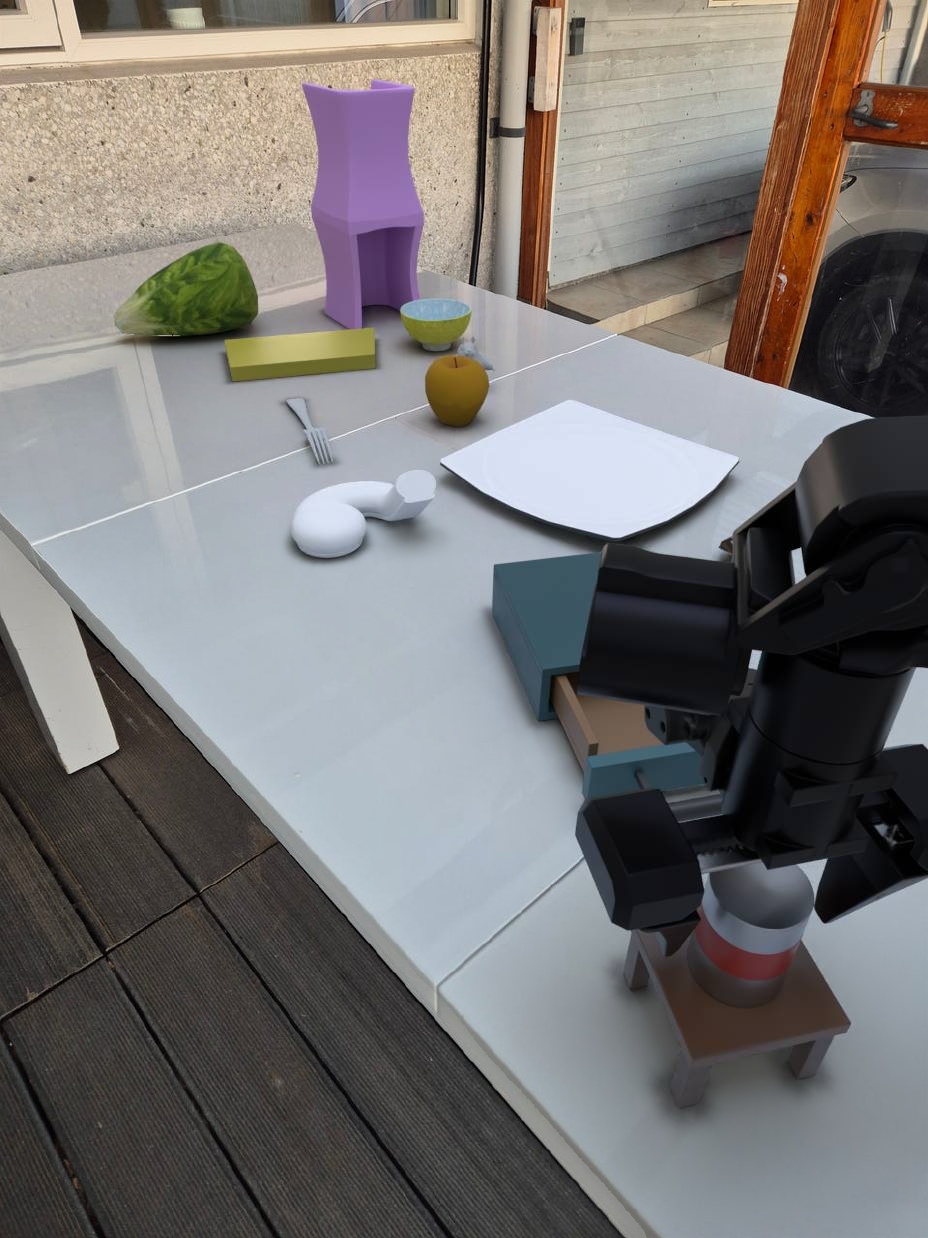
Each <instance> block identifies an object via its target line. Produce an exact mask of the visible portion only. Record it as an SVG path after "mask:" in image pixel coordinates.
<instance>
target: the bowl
mask: <svg viewBox="0 0 928 1238" xmlns="http://www.w3.org/2000/svg"><path fill="white" fill-rule="evenodd" d="M399 312H400V318H401V321H402V324H403V327H404V329H405V330H406V332H407V334H409V336H411V337H412V338H413V339H414V340H415V341H417V342H419V343H421V344H422V348H423V349H424V350H425V351H430V352H443V351H447V350H449V349H450V348H451V347H452V346H451V344H452V343H453V342H456V341H457V340H459V339H460V338H461V337H462V336H463V335H464V333H465V332H466V330H467V329H468V327H469V326H470V325H469V324H470V322H471V319H472V312H473V309H472V306H471V305H470V304H468V303H466V302H464V301H462V300H457V299H451V298H441V297H440V298H437V297H436V298H433V297H432V298H420V300H415V301H412V302H409V303H406V304H405V305H403V306H402V307H401V309H400V311H399Z"/></svg>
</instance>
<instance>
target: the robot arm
mask: <svg viewBox="0 0 928 1238" xmlns="http://www.w3.org/2000/svg"><path fill="white" fill-rule="evenodd" d="M800 469H801V470H800V472H799V473H798V476H797V479H796V481H795V482H794V483H792V484H791V485H790V486H789V487H786V489H785V490H783V491H782V492H780V493H779V494H778V495H777V496H775V498H773V499H772V500H771V501H769V502H768V503H767V504H766V505H764V506H763V507H762V508H761V509H759V510H758V511H757V512H756V513H755V514H753V515H751V517H749V518H747V520H746V521H744V522H743V523H741V524H740V525H739V526H738V527H737V528H735V529H734V530H733V532H732V534H731V536H732V539H733V554H732V555H731V558H730V562H728V561H719V560H714V559H713V560H712V559H706V558H697V557H689V556H682V555H674V554H673V555H672V554H668V553H667V554H666V553H660V552H659V553H658V552H654V551H650V550H647V549H645V548H642V547H641V548H639V546H636V545H629V544H622V543H616V542H608V543H606V544H604V545H603V546H602V550H601V552H602V555H601V560H600V565H599V569H598V577H597V583H595V588H594V593H593V598H592V603H591V608H590V613H589V618H588V623H587V628H586V633H585V638H584V643H583V648H582V653H581V659H580V667H579V676H578V687H577V694H578V695H584V696H591V697H597V698H603V699H609V700H616V701H622V702H628V703H634V704H641V705H644V708H645V723H646V726H647V728H648V730H649V731H650V732H651V733H652V734H653V735H654V736H655V737H657V738H658V739H659V740H660V741H661V742H662V743H663V744H664V745H672V744H679V743H685V742H686V743H687V744H689V745H690V746H691V747H692V748H693V749H694V750H695V751H696V752H697V753H699V754H700V755H701V756H702V757H703V759H702V763H701V767H700V771H699V775H700V777H701V778H702V780H703V782H704V783H705V784H704V785H705V787H706V788H707V790H708V791H709V792H716V791H718V792H719V794H721V795H722V796H723V798H722V802H721V811H722V815H716V816H710V817H705V818H699V819H694V820H688V821H683V822H678V821H677V820H676V818H675V816H674V814H673V812H672V810H671V809H670V807H669V805H668V803H669V802H668V801H667V800H666V797H665V796H664V794H663V791H661V790H660V789H656V788H647V789H641V790H635V791H629V792H623V793H617V794H612V795H606V796H600V797H594V798H588V799H585V798H584V800H583V802H582V804H581V806H580V808H579V809H578V812H577V815H576V823H575V830H574V835H575V838H576V841H577V843H578V846H579V848H580V850H581V853H582V855H583V858H584V861H585V863H586V866H587V867H588V869H589V873H590V874H591V877H592V879H593V882H594V884H595V886H596V889H597V891H598V894H599V896H600V899H601V901H602V903H603V906H604V908H605V911H606V913H607V916H608V918H609V921H610V923H611V924H613V925H615V926H617V927H619V928H621V929H623V930H625V931H627V932H631V930H635V929H639V930H640V931H642V932H645V933H655V936H656V939H657V942H658V944H659V946H660V949H661V951H662V953H663V955H664V957H669V956H672V955H673V954H674V953H675V952H677V951H678V950H679V949H680V947H681V946H682V945H683V943H684V942H685V941H686V939H687V938H688V937H689V935H690V934H691V933H692V932H693V930H694V929H695V928H696V926H697V925H698V924H699V922H700V921H701V918H700V916H699V914H698V912H697V910H696V909H697V908H699V907H700V906H701V903H702V899H703V896H704V892H705V891H704V888H705V884H704V879H703V875H704V874H705V875H706V874H708V873H710V872H716V871H721V870H726V869H731V868H736V867H742V866H747V865H752V864H757V863H762V862H763V864H764V865H765V867H766V869H767V870H771V869H776V868H781V867H786V866H791V865H801V864H806V863H811V862H817V861H823V860H826V862H825V866H824V868H823V870H822V874H821V876H820V879H819V882H818V885H817V888H816V889H817V890H816V894H815V897H814V907H813V910H814V912H815V913H816V915H817V917H818V918H819V920H820V921H821V923H822V924H825V925H826V924H830V923H833V922H835V921H837V920H839V919H842V918H843V917H846V916H848V915H850V914H852V913H854V912H856V911H858V910H860V909H863V908H865V907H867V906H868V905H871V904H873V903H875V902H877V901H880V900H882V899H884V898H886V897H889V896H891V895H892V894H895V893H897V892H900V891H902V890H904V889H907V888H908V887H911V886H913V885H916V884H919V883H920V882H922V881H924V880H927V879H928V747H927V746H926V745H924V743H906V744H900V745H894V746H889V747H885V745H886V743H887V740H888V739H889V735H890V733H891V730H892V728H893V725H894V724H895V721H896V718H897V716H898V714H899V711H900V708H901V707H902V704H903V702H904V698H905V697H906V694H907V691H908V689H909V687H910V684H911V681H912V679H913V676H914V674H915V672H916V669H918V668H922V669H928V415H909V416H906V415H904V416H882V417H872V418H864V419H862V420H859V421H855V422H853V423H849V424H846V425H843V426H841V427H839V428H837V429H835V430H833V431H832V432H830V433H828V434H827V435H825V436H824V437H823V439H822V441H821V443H820V444H819V445H818V446H817V447H816V449H814V451H813V452H812V453H811V454H810V455H809V456H808V458H807V459H806V460H805V461H804V463H803V465H802V467H801V468H800ZM798 549H800V551H801V558H802V564H803V572H804V575H805V577H804V578H802V579H801V580H800V581H798V582H796V575H795V567H794V561H793V560H794V557H793V551H796V550H798ZM753 651H758V652H761V653H760V656H759V660H758V664H757V668H751V667H750V664H751V658H752V653H753Z"/></svg>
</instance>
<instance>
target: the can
mask: <svg viewBox="0 0 928 1238" xmlns="http://www.w3.org/2000/svg"><path fill="white" fill-rule="evenodd" d="M704 891H705V892H704V896H703V899H702V903H701V906H700V907H699V908H698V911H697V912H698V914H699V916H700V918H701V921H700V922H699V924H698V925H697V926H696V928H695V929H694V930H693V932H692V935H691V938H690V942H689V946H688V950H687V959H688V964H689V968H690V970H691V973H692V975H693V977H694V978H695V980H696V981H697V983H698V984H699V985H700V986H701V987H702V989H704V990H705V991H706V992H707V993H708V994H709V995H711V996H712V997H713V998H715V999H717V1000H719V1001H721V1002H723V1003H725V1004H728V1005H731V1006H735V1007H740V1008H753V1007H758V1006H762V1005H764V1004H766V1003H768V1002H770V1001H771V1000H773V999H774V998H775V997H776V996H777V994H778V993H779V991H780V989H781V987H782V985H783V982H784V980H785V977H786V975H787V972H788V970H789V967H790V965H791V963H792V961H793V959H794V956H795V954H796V951H797V949H798V946H799V944H800V941H801V940H802V939H803V936H804V932H805V930H806V927H807V925H808V923H809V920H810V917H811V915H812V913H813V910H814V904H815V892H814V887H813V885H812V883H811V881H810V878H809V877H808V876H807V874H806V873H805V872H804V870H803V869H802V868H801V867H800V866H799V864H797V865H791V866H786V867H781V868H776V869H771V870H767V869H766V867H765V865H764V864H763V862H762V863H757V864H752V865H747V866H742V867H736V868H731V869H726V870H721V871H716V872H710V873H707V878H706V881H705V884H704Z"/></svg>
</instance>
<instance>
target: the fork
mask: <svg viewBox="0 0 928 1238" xmlns="http://www.w3.org/2000/svg"><path fill="white" fill-rule="evenodd" d="M285 402H286V404H287V405H288V406H289V407H290V408H291V409H292V410H293V411H294V412H295V414H296V415H297V417H298V418H299V419H300V421H301V422H302V423H303V425H304V427H305V428H306V429H302V432H304V434H305V435H306V438H307V439H308V442H309V444H310V446H311V449H312V451H313V454H314V456H315V459H316V461H317V463H318V465H319V466H321V463H320V459H321V461H322V464H323V465H325V461H326V463H327V464H330V462H329V458H330V460H331V463H332V464H333V463H334V460H333V454H332V449H331V444H330V439H329V435H328V432H327V428H325V427H324V426H322V427H320V426H319V427H314V426H313V424H312V422H311V420H310V416H309V413H308V409H307V404H306V401H305V400H304V399H303V398H302V397H296V398H290V399H286V401H285ZM325 445H326V446H325ZM316 448H317V449H316ZM326 448H327V449H326ZM317 450H318V451H317ZM322 451H323V452H322ZM327 451H328V453H327ZM318 453H319V456H320V459H319V456H318ZM323 454H324V455H323ZM328 454H329V458H328ZM324 457H325V460H324Z"/></svg>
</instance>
